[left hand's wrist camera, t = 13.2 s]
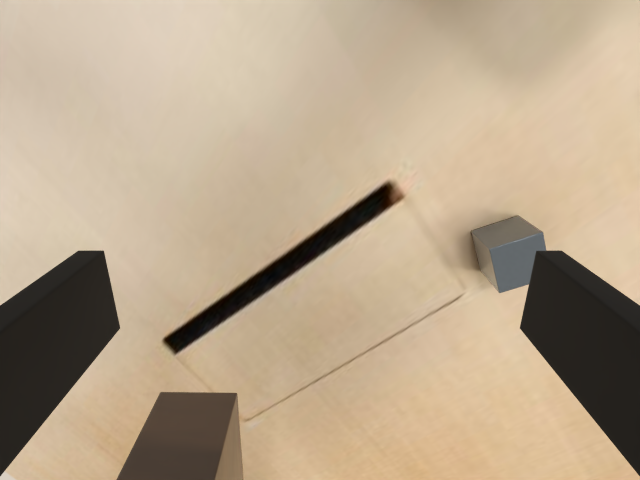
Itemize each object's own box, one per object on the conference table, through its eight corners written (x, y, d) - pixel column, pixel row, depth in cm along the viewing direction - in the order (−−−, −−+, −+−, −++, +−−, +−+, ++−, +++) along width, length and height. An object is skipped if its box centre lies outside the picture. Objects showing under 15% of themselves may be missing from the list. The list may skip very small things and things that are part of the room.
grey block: (470, 230, 42) (489, 249, 38) (518, 215, 42) (543, 231, 37) (480, 271, 44) (499, 293, 39) (526, 256, 44) (551, 277, 39)
